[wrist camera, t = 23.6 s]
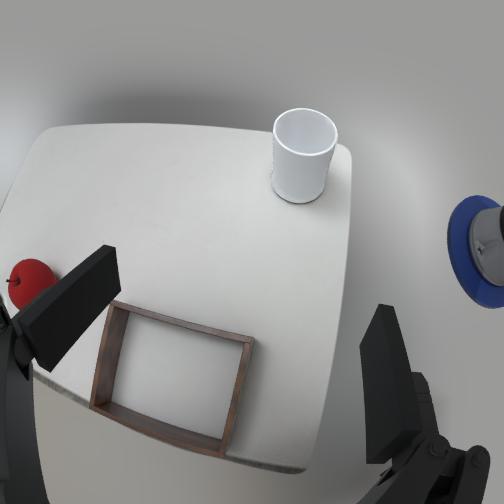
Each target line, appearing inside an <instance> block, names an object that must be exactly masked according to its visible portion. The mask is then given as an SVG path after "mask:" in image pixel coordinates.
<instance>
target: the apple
mask: <svg viewBox="0 0 504 504" xmlns="http://www.w3.org/2000/svg"><path fill="white" fill-rule="evenodd" d="M6 282H9V285H8V292H9V297H10V299H11V301H12V303H13V304H14V305H15V306H16V307H17V308H18V309H19V310H21V309H22V308H23V307H24V306H26V305H27V304H28V303H29V302H31V300H32V299H33V298H34V297H36V296H37V295H38V294H39V293H40V292H41V291H42V290H44V289H46V288H48V287H50V286H52V285H55V284H57V282H56V278H55V276H54V274H53V272H52V270H51V269H50V268H49V267H48V266H47V265H46V264H44V263H43V262H41V261H39V260H36V259H26V260H22V261H20V262H19V263H18V264H17V265H16V266H15V267H14V268H13V270H12V272H11V275H10V279H9V280H8V279H7V280H6Z"/></svg>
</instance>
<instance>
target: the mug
mask: <svg viewBox="0 0 504 504" xmlns="http://www.w3.org/2000/svg"><path fill="white" fill-rule="evenodd" d="M337 138H338V134H337V129H336V127H335V125H334V123H333V122H332V121H331V120H330V119H329V118H328V117H327V116H325V115H324V114H322V113H320V112H318V111H315V110H312V109H306V108H298V109H292V110H289V111H286V112H284V113H283V114H281V115H280V116H279V117H278V118H277V119H276V121H275V123H274V126H273V170H272V173H271V183H272V186H273V188H274V190H275V191H276V193H277V194H278V195H279V196H281V197H282V198H283V199H285V200H287V201H290V202H294V203H306V202H310V201H312V200H314V199H316V198H317V197H318V196H319V195H320V194H321V193H322V191H323V189H324V186H325V178H326V175H327V172H328V168H329V165H330V162H331V159H332V156H333V152H334V149H335V146H336V142H337Z"/></svg>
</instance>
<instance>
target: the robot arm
mask: <svg viewBox="0 0 504 504" xmlns="http://www.w3.org/2000/svg"><path fill="white" fill-rule="evenodd" d="M467 248H468V253H469V256H470V259H471V262H472V264H473V266H474V268H475V270H476V272H477V273H478V275H479V276H480V277H481V278H482V279H483V280H484V281H485V282H486V283H487V284H489V285H491V286H494V287H502V286H504V206H501V207H496V208H492V209H485V210H482V211H480V212H479V213H477V214H476V215H475V216H474V217H473V218H472V219H471V221H470V223H469V225H468V229H467ZM120 291H121V286H120V280H119V272H118V265H117V256H116V247H112V246H108V245H103V246H102V247H100V248H99V249H98V250H97V251H95V252H94V253H93V254H92V255H90V256H89V257H88V258H87V259H85V260H84V261H83V262H82V263H80V264H79V265H78V266H77V267H75V268H74V269H73V270H72V271H71V272H69V273H68V274H67V275H66V276H65V277H64V278H62V279H61V280H60V281H59V282H58V283H57V284H55V285H52V286H50V287H48V288H46V289H44V290H42V291H41V292H40V293H39V294H38V295H37V296H36V297H34V298H33V299H32V300H31V302H29V303H28V304H27V305H26V306H24V307H23V308H22V309H21V310H20V311H19V312H18V313H17V314H16V315H15V316H14V317H13V318H12V319H11V318H10V316H9V314H8V311H7V309H6V307H5V305H4V304H2V303H0V504H50V503H49V501H48V498H47V494H46V489H45V485H44V480H43V476H42V471H41V465H40V459H39V452H38V445H37V437H36V428H35V417H34V398H33V364H32V362H31V360H32V359H33V358H34V357H35V359H36V361H37V363H38V365H39V366H40V367H42V368H43V369H45V370H47V371H48V372H50V373H51V371H52V370H53V369H54V368H55V366H56V365H57V364H58V363H59V361H60V360H61V359H62V358H63V357H64V355H65V354H66V353H67V352H68V351H69V349H70V348H71V347H72V346H73V345H74V343H75V342H76V341H77V340H78V339H79V337H80V336H81V335H82V334H83V333H84V332H85V331H86V329H87V328H88V327H89V326H90V325H91V324H92V322H93V321H94V320H95V319H96V318H97V317H98V316H99V315H100V313H101V312H102V311H103V310H104V309H105V308H106V307H107V306H108V305H109V303H110V302H111V301H112V300H113V299H114V298H115V297H116V296H117V295H118V294H119V293H120ZM360 355H361V364H362V376H363V389H364V403H365V423H366V463H367V464H384V463H386V462H387V461H388V460H389V459H391V458H392V466H391V467H390V468H388V469H387V470H386V471H384V472H383V473H382V474H380V476H381V478H380V479H379V481H378V482H377V483H376V484H375V485H374V486H373V487H372V488H371V490H370V491H369V492H368V493H367V494H366V495H365V496H364V497H363V498H362V499H361V500H360V501H359V502H358V503H357V504H481V503H482V500H483V496H484V491H485V487H486V483H487V478H488V473H489V468H490V455H489V452H488V451H487V450H486V448H484V447H482V446H479V445H476V446H473V447H471V448H470V449H469V450H468V451H464V450H460V449H456V448H452V447H451V446H450V444H449V442H448V440H447V439H446V438H445V437H443V436H441V435H439V431H438V427H437V421H436V416H435V412H434V407H433V403H432V398H431V395H430V390H429V386H428V382H427V381H426V379H425V378H424V376H423V375H422V373H420V372H411V369H410V364H409V360H408V356H407V352H406V348H405V345H404V341H403V338H402V334H401V330H400V327H399V323H398V320H397V317H396V313H395V310H394V307H393V306H389V305H383V304H379V305H378V307H377V309H376V312H375V314H374V316H373V318H372V320H371V323H370V325H369V327H368V329H367V331H366V333H365V336H364V338H363V339H362V342H361V344H360Z"/></svg>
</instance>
